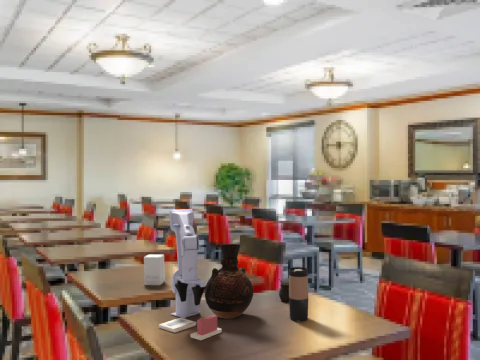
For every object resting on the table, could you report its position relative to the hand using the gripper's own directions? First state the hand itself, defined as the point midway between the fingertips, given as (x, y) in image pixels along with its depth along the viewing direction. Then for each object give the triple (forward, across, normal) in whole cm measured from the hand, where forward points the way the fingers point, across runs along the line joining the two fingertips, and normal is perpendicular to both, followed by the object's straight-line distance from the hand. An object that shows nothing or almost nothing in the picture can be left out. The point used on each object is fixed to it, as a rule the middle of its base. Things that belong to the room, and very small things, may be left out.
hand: (190, 303), depth 177 cm
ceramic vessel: (+10, +2, +20) cm, 22 cm away
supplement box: (+10, -67, +38) cm, 78 cm away
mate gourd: (+10, +7, +54) cm, 55 cm away
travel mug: (+10, +26, +35) cm, 45 cm away
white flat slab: (+9, -5, -2) cm, 11 cm away
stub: (+9, +10, -2) cm, 14 cm away
